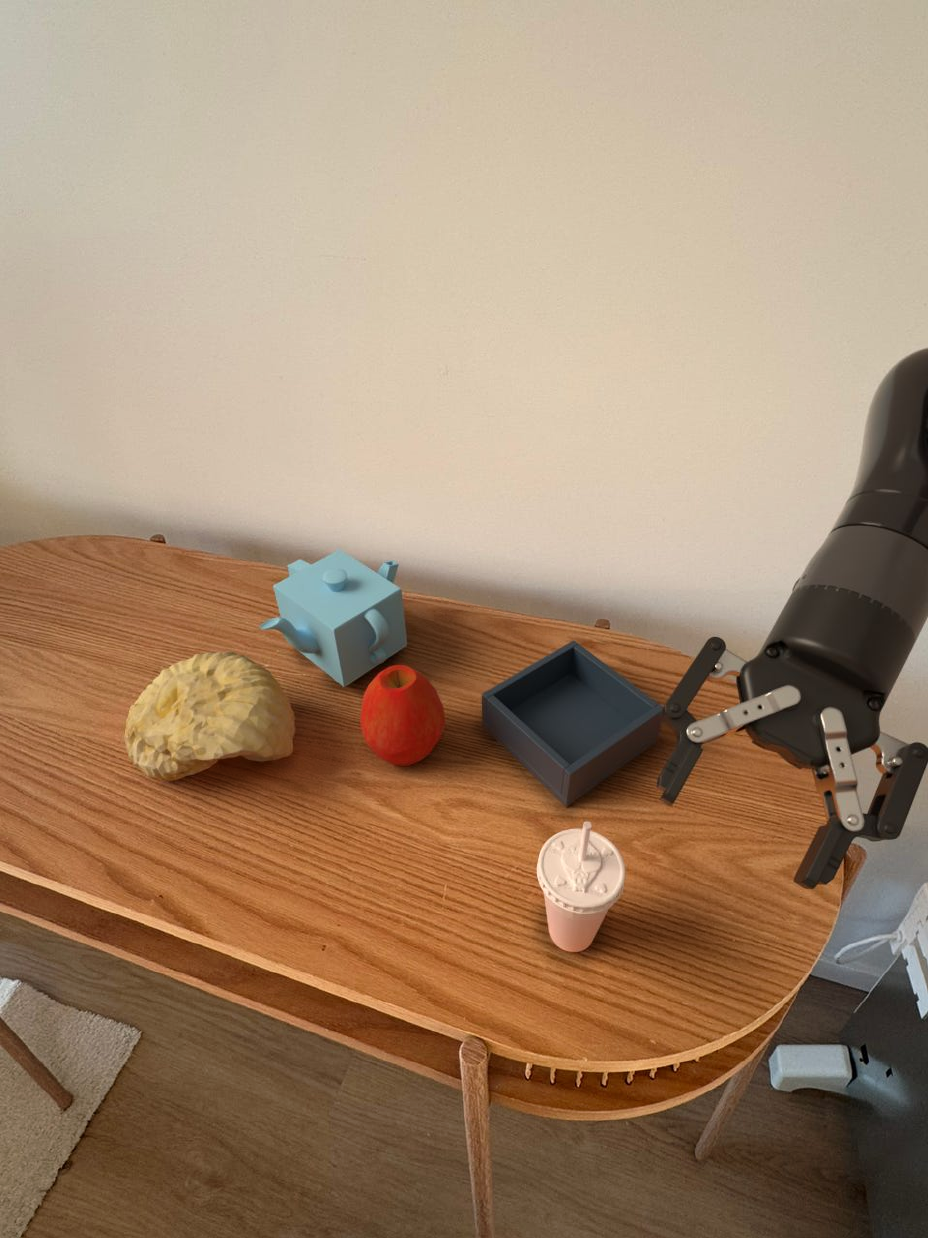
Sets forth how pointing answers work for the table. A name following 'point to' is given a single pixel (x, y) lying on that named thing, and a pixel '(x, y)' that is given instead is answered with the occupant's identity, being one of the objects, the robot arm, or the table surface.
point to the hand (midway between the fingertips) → (732, 843)
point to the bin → (571, 720)
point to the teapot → (341, 614)
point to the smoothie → (579, 884)
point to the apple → (401, 716)
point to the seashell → (208, 717)
